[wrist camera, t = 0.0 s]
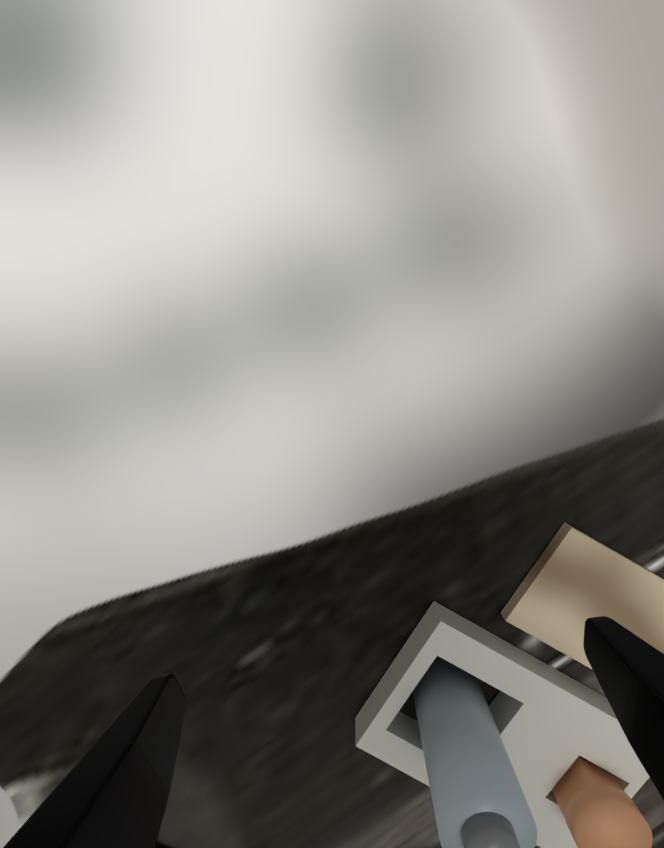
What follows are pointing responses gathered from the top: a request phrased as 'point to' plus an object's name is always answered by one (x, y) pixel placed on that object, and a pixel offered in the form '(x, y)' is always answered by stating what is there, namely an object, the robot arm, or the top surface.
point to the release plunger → (599, 809)
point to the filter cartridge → (468, 765)
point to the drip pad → (586, 594)
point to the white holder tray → (503, 716)
